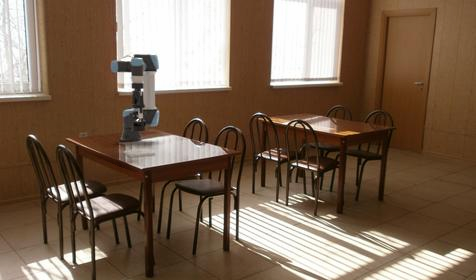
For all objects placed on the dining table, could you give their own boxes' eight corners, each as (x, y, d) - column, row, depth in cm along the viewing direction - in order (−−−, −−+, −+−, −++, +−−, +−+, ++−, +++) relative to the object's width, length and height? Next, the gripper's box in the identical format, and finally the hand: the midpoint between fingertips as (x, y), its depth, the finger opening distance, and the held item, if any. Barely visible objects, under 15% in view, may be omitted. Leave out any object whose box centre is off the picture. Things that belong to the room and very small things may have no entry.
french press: (142, 128, 312) (142, 94, 308) (150, 130, 305) (149, 95, 301) (126, 130, 304) (125, 94, 300) (133, 132, 297) (133, 95, 293)
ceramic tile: (123, 153, 308) (123, 150, 307) (146, 150, 316) (146, 148, 316) (130, 157, 296) (130, 155, 296) (154, 154, 304) (154, 152, 304)
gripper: (126, 81, 306) (127, 115, 310) (137, 83, 288) (138, 119, 292) (137, 81, 310) (138, 115, 314) (149, 83, 292) (149, 119, 296)
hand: (138, 117), depth 303 cm, fingers closed on french press, 9 cm apart
